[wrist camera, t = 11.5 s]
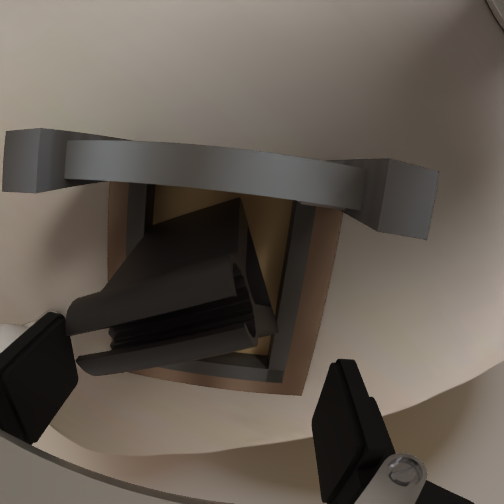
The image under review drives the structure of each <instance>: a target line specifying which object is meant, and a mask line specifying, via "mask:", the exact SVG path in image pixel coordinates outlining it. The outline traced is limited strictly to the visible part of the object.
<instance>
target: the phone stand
mask: <svg viewBox="0 0 504 504" xmlns="http://www.w3.org/2000/svg"><path fill="white" fill-rule="evenodd" d="M109 327H110V329H109V335H110V336H111V337H112V339H113V341H112V343H111V345H110V346H111V348H112V350H110V351H106V352H100V353H94V354H88V355H82V356H78V358H77V359H76V362H77V364H78V365H79V366H80V367H81V368H82V369H83V370H84V371H85V372H87V373H88V374H90V375H93V376H102V375H109V374H117V373H124V372H130V371H137V370H143V369H149V368H155V367H161V366H167V365H173V364H178V363H183V362H189V361H194V360H199V359H204V358H208V357H213V356H218V355H223V354H227V353H232V352H236V351H240V350H245V349H249V348H253V347H257V345H258V338H261V337H265V336H268V335H272V334H276V333H279V331H278V327H277V323H276V320H275V316H274V313H273V309H272V306H271V302H270V299H269V295H268V292H267V288H266V285H265V281H264V278H263V274H262V271H261V268H260V264H259V260H258V257H257V253H256V250H255V246H254V243H253V239H252V236H251V232H250V229H249V225H248V222H247V218H246V215H245V211H244V208H243V204H242V201H241V198H240V197H239V198H236V199H232V200H229V201H226V202H223V203H219V204H216V205H213V206H210V207H206V208H203V209H200V210H197V211H194V212H190V213H187V214H184V215H181V216H178V217H175V218H172V219H169V220H166V221H163V222H160V223H157V224H154V225H153V226H152V227H151V228H150V229H149V231H148V232H147V233H146V234H145V236H144V237H143V238H142V239H141V241H140V242H139V243H138V244H137V245H136V247H135V248H134V249H133V251H132V252H131V253H130V254H129V256H128V257H127V258H126V259H125V261H124V262H123V263H122V265H121V266H120V267H119V268H118V270H117V271H116V272H115V274H114V275H113V276H112V278H111V279H110V280H109V282H108V283H107V284H106V286H105V287H104V288H103V289H102V290H101V291H100V292H97V293H94V294H91V295H87V296H84V297H80V298H77V299H76V300H74V301H73V302H72V304H71V305H70V307H69V309H68V311H67V315H66V321H65V332H66V336H72V335H77V334H82V333H86V332H91V331H96V330H100V329H105V328H109Z"/></svg>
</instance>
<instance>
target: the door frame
mask: <svg viewBox="0 0 504 504" xmlns="http://www.w3.org/2000/svg"><path fill="white" fill-rule="evenodd" d="M438 175H439V172H438V171H434V170H431V169H427V168H424V167H420V166H416V165H413V164H409V163H405V162H401V161H397V160H393V159H354V160H332V161H321V160H315V159H309V158H303V157H297V156H290V155H283V154H276V153H269V152H261V151H253V150H245V149H236V148H227V147H217V146H206V145H194V144H181V143H165V142H145V141H132V140H126V139H120V138H114V137H107V136H100V135H94V134H86V133H79V132H71V131H63V130H54V129H44V128H36V129H24V130H14V131H6V136H5V146H4V160H3V181H2V192H22V193H40V192H45V191H51V190H56V189H61V188H67V187H73V186H79V185H85V184H91V183H97V182H104V181H110V190H109V209H108V282H109V280H110V279H111V278H112V276H113V275H114V274H115V272H116V271H117V270H118V268H119V267H120V266H121V265H122V263H123V262H124V261H125V259H126V258H127V257H128V256H129V254H130V253H131V252H132V251H133V249H134V248H135V247H136V245H137V244H138V243H139V242H140V241H141V239H142V238H143V237H144V236H145V234H146V233H147V232H148V231H149V229H150V228H151V227H152V226H153V225H154V224H157V223H160V222H163V221H166V220H169V219H172V218H175V217H178V216H181V215H184V214H187V213H190V212H194V211H197V210H200V209H203V208H206V207H210V206H213V205H216V204H219V203H223V202H226V201H229V200H232V199H236V198H239V197H240V198H241V201H242V204H243V208H244V211H245V215H246V218H247V222H248V225H249V229H250V232H251V236H252V239H253V243H254V246H255V250H256V253H257V257H258V260H259V264H260V268H261V271H262V274H263V278H264V281H265V285H266V288H267V292H268V295H269V299H270V302H271V306H272V309H273V313H274V316H275V320H276V323H277V327H278V331H279V333H276V334H272V335H268V336H265V337H261V338H258V345H257V347H253V348H249V349H245V350H240V351H236V352H232V353H227V354H223V355H218V356H213V357H208V358H204V359H199V360H194V361H189V362H183V363H178V364H173V365H167V366H161V367H155V368H149V369H143V370H137V371H130V372H129V373H133V374H138V375H143V376H148V377H153V378H158V379H163V380H169V381H174V382H180V383H186V384H192V385H199V386H205V387H213V388H220V389H228V390H237V391H246V392H256V393H268V394H281V395H297V396H302V392H303V389H304V385H305V382H306V378H307V375H308V371H309V367H310V363H311V360H312V356H313V352H314V348H315V344H316V340H317V336H318V332H319V328H320V324H321V319H322V315H323V311H324V306H325V302H326V297H327V293H328V288H329V284H330V279H331V274H332V269H333V264H334V259H335V254H336V249H337V244H338V238H339V233H340V227H341V222H342V216H343V212H344V213H346V214H348V215H349V216H351V217H353V218H355V219H356V220H358V221H360V222H362V223H363V224H365V225H367V226H369V227H370V228H372V229H374V230H376V231H377V232H384V233H390V234H396V235H402V236H407V237H413V238H419V239H425V240H427V237H428V232H429V228H430V223H431V218H432V212H433V207H434V201H435V195H436V189H437V182H438ZM112 341H113V339H112Z"/></svg>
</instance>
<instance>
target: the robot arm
mask: <svg viewBox="0 0 504 504" xmlns="http://www.w3.org/2000/svg"><path fill="white" fill-rule="evenodd" d="M486 1H487V3H488V5H489V7H490V8H491V10H492V12H493V14H494V16H495V17H496V19H497V20H498V22H499V23H500V25H501V26H502V28H503V29H504V0H486ZM65 321H66V320H65V317H64V316H63V315H62V314H58V313H54V312H47V313H46V314H45V315H44V316H43V317H41V318H40V319H39V320H38V321H37V322H35V323H34V324H33V325H32V326H31V327H30V328H28V329H27V330H26V331H25V332H24V333H23V334H21V335H20V336H19V337H18V338H17V339H16V340H15V341H14V342H12V343H11V344H10V345H9V346H8V347H7V348H6V349H5V350H3V351H2V352H1V353H0V504H231V503H223V502H216V501H208V500H202V499H196V498H190V497H186V496H180V495H175V494H171V493H166V492H162V491H158V490H153V489H149V488H145V487H142V486H138V485H134V484H131V483H127V482H124V481H120V480H117V479H114V478H111V477H108V476H105V475H102V474H99V473H96V472H93V471H91V470H88V469H85V468H82V467H80V466H77V465H75V464H72V463H69V462H67V461H65V460H62V459H60V458H58V457H55V456H53V455H51V454H48V453H46V452H44V451H42V450H40V449H38V448H35V447H34V446H32V444H33V443H35V442H37V441H38V440H39V438H40V437H41V435H42V434H43V432H44V431H45V429H46V428H47V426H48V425H49V423H50V422H51V421H52V419H53V418H54V416H55V415H56V413H57V412H58V410H59V409H60V408H61V406H62V405H63V403H64V402H65V401H66V399H67V398H68V396H69V395H70V394H71V392H72V391H73V389H74V388H75V387H76V385H77V383H78V373H77V369H76V364H75V359H74V354H73V349H72V344H71V338H70V336H66V332H65ZM312 432H313V439H314V445H315V453H316V460H317V466H318V475H319V483H320V491H321V499H322V502H323V503H327V504H474V503H473V502H471V501H469V500H467V499H465V498H463V497H461V496H459V495H456V494H454V493H452V492H450V491H448V490H446V489H444V488H441V487H439V486H437V485H435V484H433V483H431V482H429V481H427V480H426V479H427V469H426V467H425V465H424V463H423V462H422V461H421V460H420V459H418V458H417V457H415V456H413V455H410V454H407V453H398V454H396V453H395V450H394V447H393V445H392V442H391V439H390V437H389V434H388V431H387V429H386V426H385V423H384V421H383V418H382V416H381V413H380V411H379V408H378V405H377V403H376V401H375V399H374V398H373V397H369V395H368V392H367V390H366V387H365V385H364V382H363V379H362V377H361V374H360V372H359V369H358V367H357V364H356V362H355V360H350V359H337V361H336V363H331V365H330V367H329V370H328V374H327V377H326V380H325V383H324V386H323V389H322V392H321V395H320V398H319V401H318V404H317V406H316V409H315V412H314V415H313V418H312Z"/></svg>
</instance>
